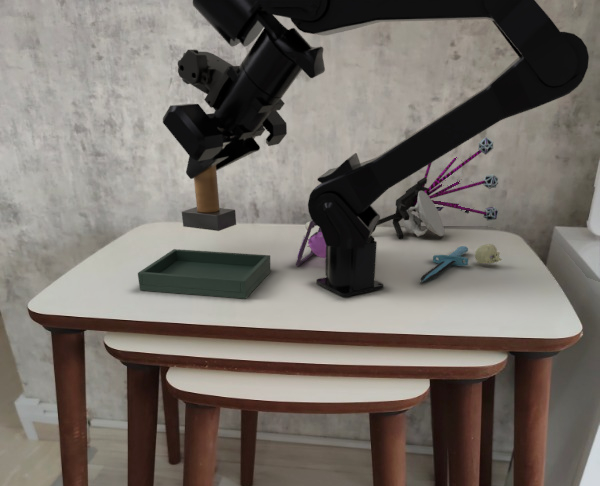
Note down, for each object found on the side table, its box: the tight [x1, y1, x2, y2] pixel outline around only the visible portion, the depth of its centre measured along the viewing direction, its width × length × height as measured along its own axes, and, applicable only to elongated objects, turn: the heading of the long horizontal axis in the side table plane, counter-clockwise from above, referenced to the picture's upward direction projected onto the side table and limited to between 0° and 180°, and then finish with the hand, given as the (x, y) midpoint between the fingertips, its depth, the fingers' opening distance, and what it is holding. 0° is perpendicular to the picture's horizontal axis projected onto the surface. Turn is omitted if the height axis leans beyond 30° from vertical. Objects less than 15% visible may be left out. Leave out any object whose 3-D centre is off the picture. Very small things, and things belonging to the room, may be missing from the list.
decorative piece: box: [377, 136, 500, 240], centre depth 104 cm, size 14×14×30 cm
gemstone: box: [474, 243, 503, 265], centre depth 85 cm, size 3×4×3 cm
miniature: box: [403, 191, 445, 237], centre depth 99 cm, size 8×8×5 cm
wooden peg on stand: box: [181, 165, 237, 232], centre depth 79 cm, size 6×4×11 cm, turn 60°
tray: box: [137, 248, 272, 300], centre depth 80 cm, size 14×11×2 cm
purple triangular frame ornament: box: [295, 219, 327, 267], centre depth 87 cm, size 7×5×9 cm
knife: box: [420, 245, 469, 283], centre depth 84 cm, size 17×1×5 cm
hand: (197, 174), depth 79 cm, fingers closed on wooden peg on stand, 3 cm apart
